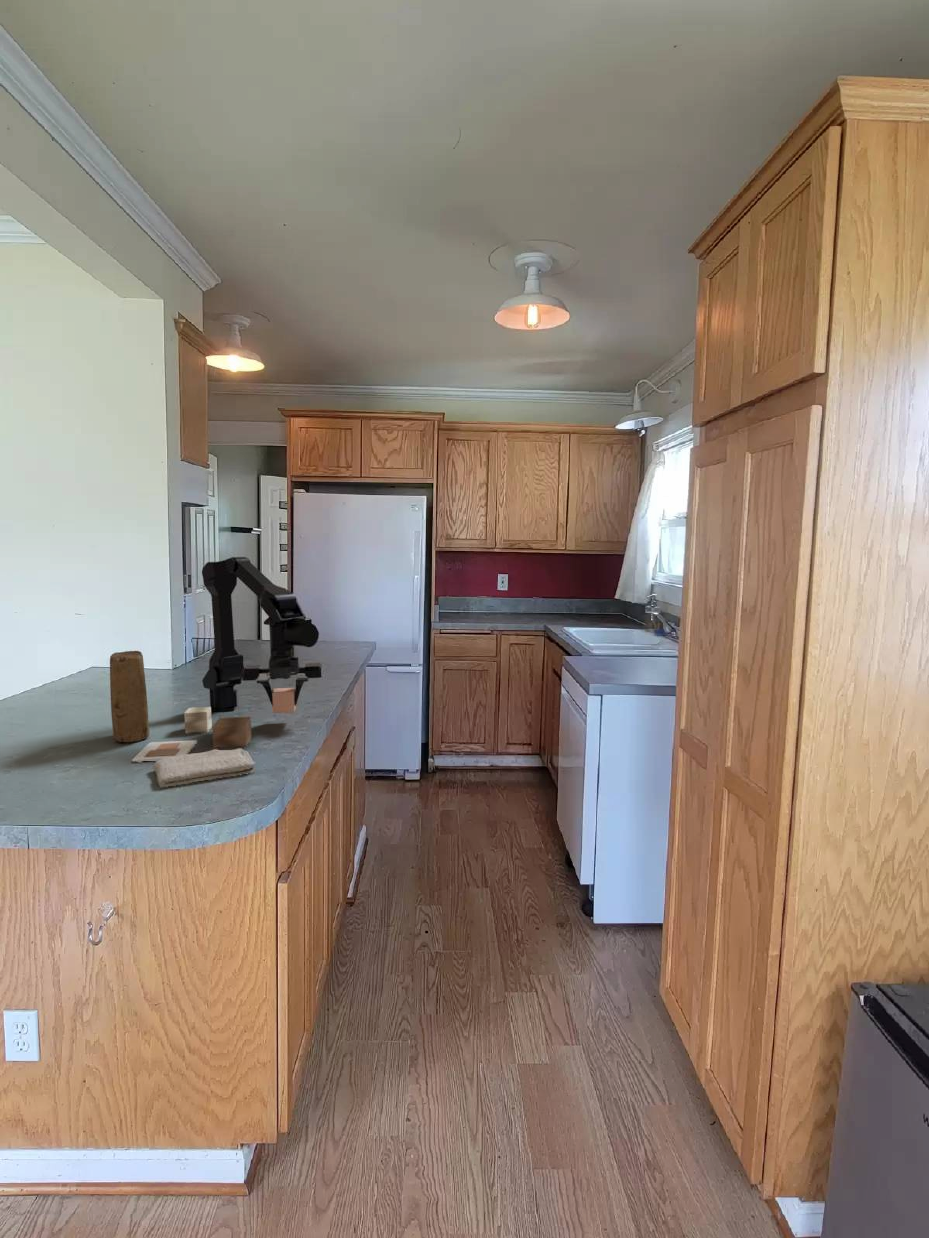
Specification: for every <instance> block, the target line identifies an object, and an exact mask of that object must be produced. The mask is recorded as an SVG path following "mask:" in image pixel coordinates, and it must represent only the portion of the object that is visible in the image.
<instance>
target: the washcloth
mask: <svg viewBox="0 0 929 1238" xmlns="http://www.w3.org/2000/svg"><path fill="white" fill-rule="evenodd" d="M153 763H154V764H153V770H154V772H155V774H156V781H157V783H158V786H159V788H161V787H167V788H169V787H168V786H174V787H176V786H175V785H179V784H186V785H188V784H187V783H192V782H198V781H202V780H203V781H204V780H209V781H214V780H213V779H215V780H217V779H216V778H220V777H227V778H231V777H230V776H233V775H234V777H236V776H235V775H240V774H246V773H253V774H255V767H254V765H256V764H257V762H256V761H254V759H253V758H252V757H251V755H250V754H249V752H248V751H247V750H244V749H243V748H240V747H238V748H236V749H231V750H230V749H228V750H227V749H225V750H224V749H223V750H220V749H218V748H213V749H211V750H208V751H203V752H197V753H196V752H195V753H188V754H186V755H181V756H176V757H170V758H163V759H161V760H159V761H156V762H153ZM240 776H241V775H240ZM204 782H205V781H204ZM198 783H199V782H198ZM192 784H193V783H192ZM179 786H180V785H179Z"/></svg>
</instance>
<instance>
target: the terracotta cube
mask: <svg viewBox="0 0 929 1238" xmlns="http://www.w3.org/2000/svg"><path fill="white" fill-rule="evenodd" d="M295 688H296V687H283V688H279V687H277V688H273V693H272V698H273V706H272V713H273V714H280V713H281V714H282V713H283V714H285V713H295V711H296V707H297V705H296V706H295V701H294V698H295Z"/></svg>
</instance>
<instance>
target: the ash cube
mask: <svg viewBox="0 0 929 1238" xmlns="http://www.w3.org/2000/svg"><path fill="white" fill-rule="evenodd" d="M183 713H184V732H185V734H190V733H189V732H201V733H208V732H209V731H210V730H211V728H212V726H213V723H212V722H213V721H212V711H211V707H210V706H198V707H197V706H196V707H188V709H187V710H186V711H184V712H183ZM209 729H210V730H209Z"/></svg>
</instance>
